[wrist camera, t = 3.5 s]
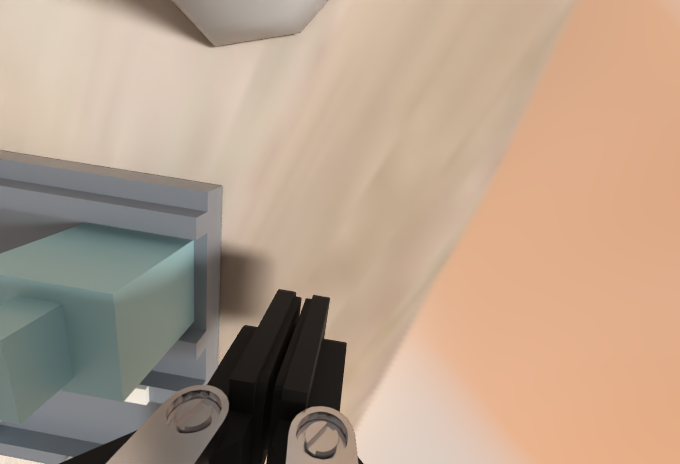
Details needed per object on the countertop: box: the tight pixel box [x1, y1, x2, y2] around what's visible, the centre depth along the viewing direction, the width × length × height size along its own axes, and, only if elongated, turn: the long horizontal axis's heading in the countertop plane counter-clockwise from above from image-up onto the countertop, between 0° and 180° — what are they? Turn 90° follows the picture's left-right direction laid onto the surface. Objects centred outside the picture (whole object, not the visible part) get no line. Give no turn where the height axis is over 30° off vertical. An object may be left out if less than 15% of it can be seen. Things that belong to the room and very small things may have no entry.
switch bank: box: [0, 150, 222, 464], centre depth 14 cm, size 14×15×3 cm
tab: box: [0, 222, 194, 424], centre depth 10 cm, size 4×4×6 cm
